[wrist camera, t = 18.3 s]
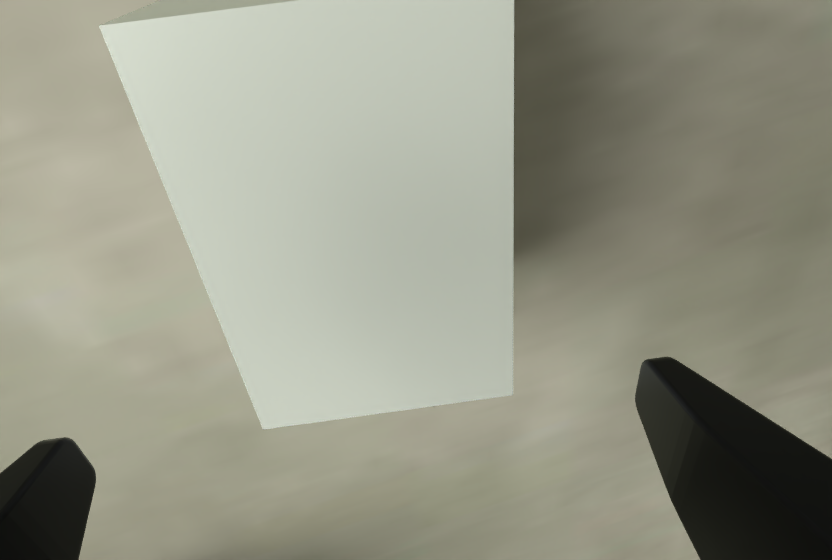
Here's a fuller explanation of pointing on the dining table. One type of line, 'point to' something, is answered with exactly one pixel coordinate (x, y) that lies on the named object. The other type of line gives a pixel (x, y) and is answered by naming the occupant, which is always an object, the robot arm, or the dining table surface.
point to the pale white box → (339, 190)
